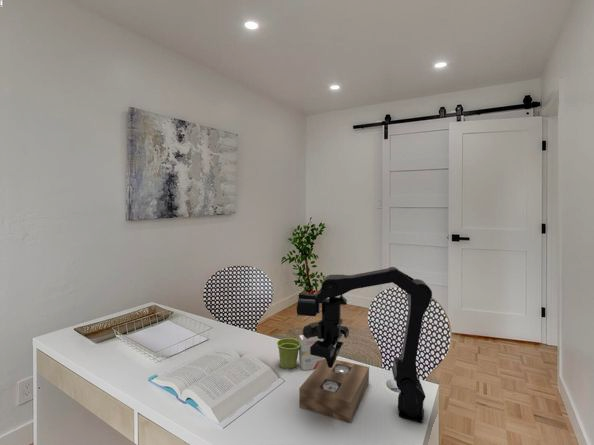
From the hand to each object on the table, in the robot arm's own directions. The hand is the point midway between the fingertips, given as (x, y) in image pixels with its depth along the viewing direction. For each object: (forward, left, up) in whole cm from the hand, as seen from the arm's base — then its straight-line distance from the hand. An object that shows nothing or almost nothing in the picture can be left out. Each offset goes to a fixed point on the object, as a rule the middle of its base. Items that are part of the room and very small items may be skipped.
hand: (330, 367), depth 97 cm
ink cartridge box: (+15, -19, -12) cm, 27 cm away
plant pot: (+23, -16, -12) cm, 30 cm away
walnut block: (0, -6, -12) cm, 13 cm away
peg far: (0, -11, -12) cm, 16 cm away
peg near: (0, 0, -12) cm, 12 cm away
